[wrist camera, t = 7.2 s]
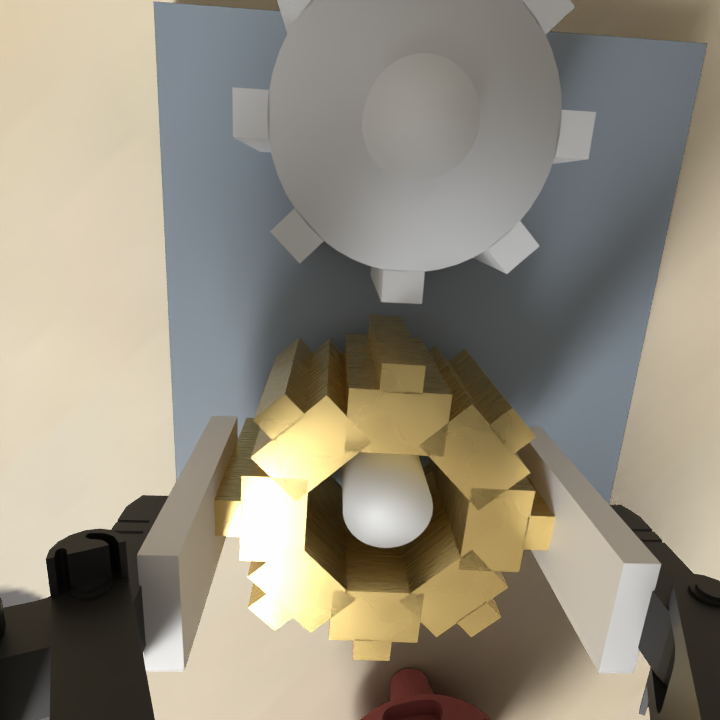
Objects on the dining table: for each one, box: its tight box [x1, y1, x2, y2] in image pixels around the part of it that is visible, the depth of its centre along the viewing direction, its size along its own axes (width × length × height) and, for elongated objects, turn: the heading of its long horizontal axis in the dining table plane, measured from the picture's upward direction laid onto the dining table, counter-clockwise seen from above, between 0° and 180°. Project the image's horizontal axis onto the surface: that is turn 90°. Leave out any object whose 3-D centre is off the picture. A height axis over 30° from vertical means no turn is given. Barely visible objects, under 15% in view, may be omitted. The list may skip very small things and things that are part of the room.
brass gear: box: [214, 314, 555, 661], centre depth 16 cm, size 8×8×5 cm
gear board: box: [154, 0, 707, 548], centre depth 16 cm, size 16×17×7 cm
